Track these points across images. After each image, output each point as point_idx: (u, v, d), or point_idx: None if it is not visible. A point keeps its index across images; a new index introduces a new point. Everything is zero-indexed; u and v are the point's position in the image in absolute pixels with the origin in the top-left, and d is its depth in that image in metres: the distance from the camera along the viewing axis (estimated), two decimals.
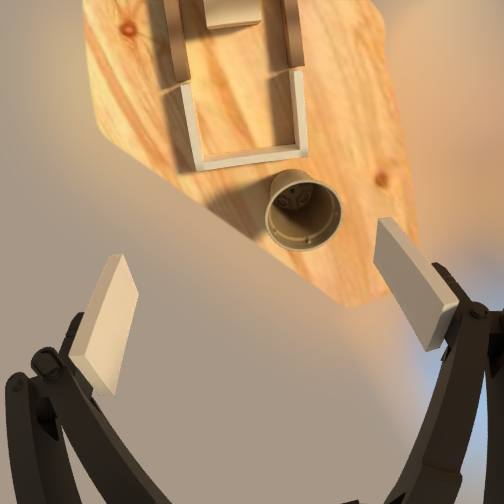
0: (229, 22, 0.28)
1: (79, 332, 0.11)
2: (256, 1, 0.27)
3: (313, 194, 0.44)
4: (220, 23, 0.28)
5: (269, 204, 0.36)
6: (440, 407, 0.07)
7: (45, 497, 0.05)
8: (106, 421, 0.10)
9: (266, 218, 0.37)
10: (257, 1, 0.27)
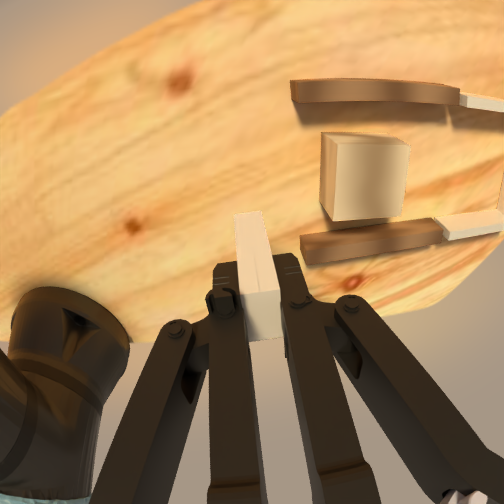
0: (403, 188, 0.23)
1: (241, 274, 0.13)
2: (383, 148, 0.21)
3: None
4: (402, 199, 0.23)
5: None
6: (305, 413, 0.08)
7: (145, 463, 0.07)
8: (252, 378, 0.11)
9: None
10: (383, 147, 0.21)
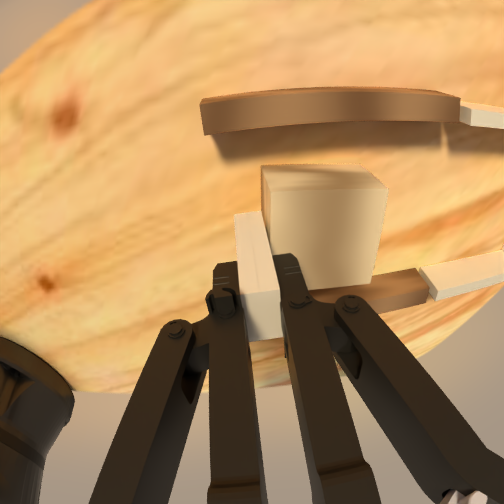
0: (375, 247, 0.17)
1: (241, 274, 0.13)
2: (344, 195, 0.15)
3: None
4: (373, 263, 0.17)
5: None
6: (305, 413, 0.08)
7: (145, 463, 0.07)
8: (252, 378, 0.11)
9: None
10: (344, 193, 0.15)
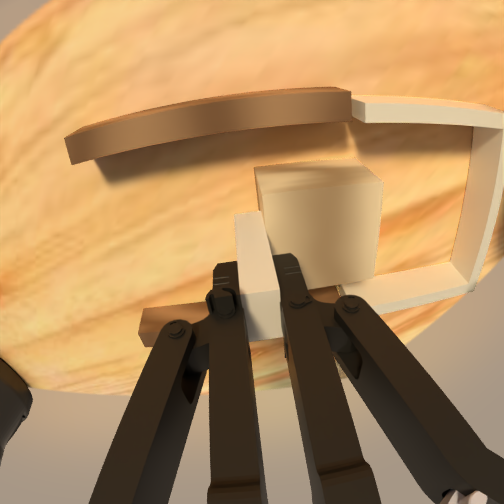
0: (375, 242, 0.17)
1: (241, 274, 0.13)
2: (337, 192, 0.15)
3: None
4: (374, 257, 0.17)
5: None
6: (305, 413, 0.08)
7: (145, 463, 0.07)
8: (252, 378, 0.11)
9: None
10: (338, 189, 0.15)
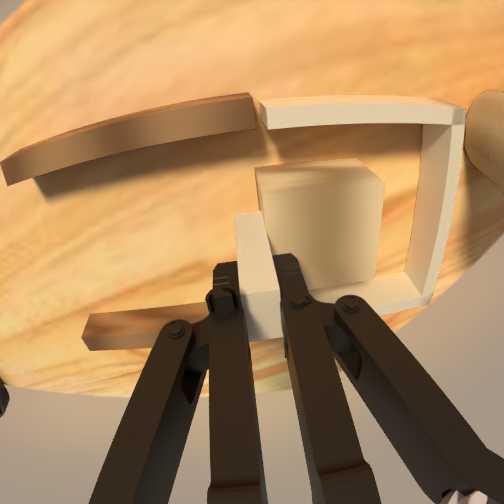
0: (376, 242, 0.16)
1: (241, 274, 0.13)
2: (338, 192, 0.15)
3: None
4: (374, 258, 0.17)
5: None
6: (305, 413, 0.08)
7: (145, 463, 0.07)
8: (252, 378, 0.11)
9: None
10: (338, 190, 0.15)
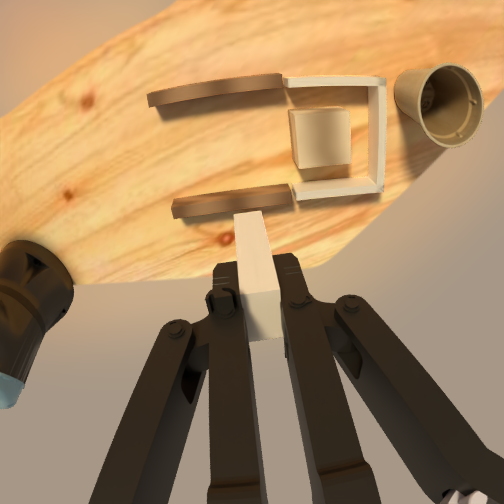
0: (349, 142, 0.32)
1: (241, 274, 0.13)
2: (328, 115, 0.31)
3: None
4: (350, 150, 0.33)
5: (435, 141, 0.28)
6: (305, 413, 0.08)
7: (145, 463, 0.07)
8: (252, 378, 0.11)
9: (447, 146, 0.28)
10: (328, 114, 0.31)
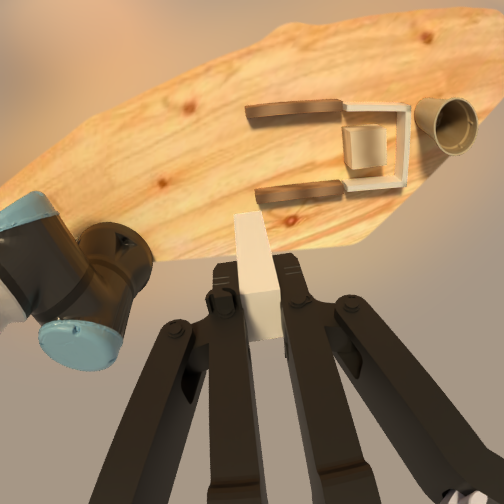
0: (386, 150, 0.45)
1: (241, 274, 0.13)
2: (372, 131, 0.43)
3: None
4: (386, 156, 0.45)
5: (444, 151, 0.40)
6: (305, 413, 0.08)
7: (145, 463, 0.07)
8: (252, 378, 0.11)
9: (452, 154, 0.41)
10: (372, 131, 0.43)
